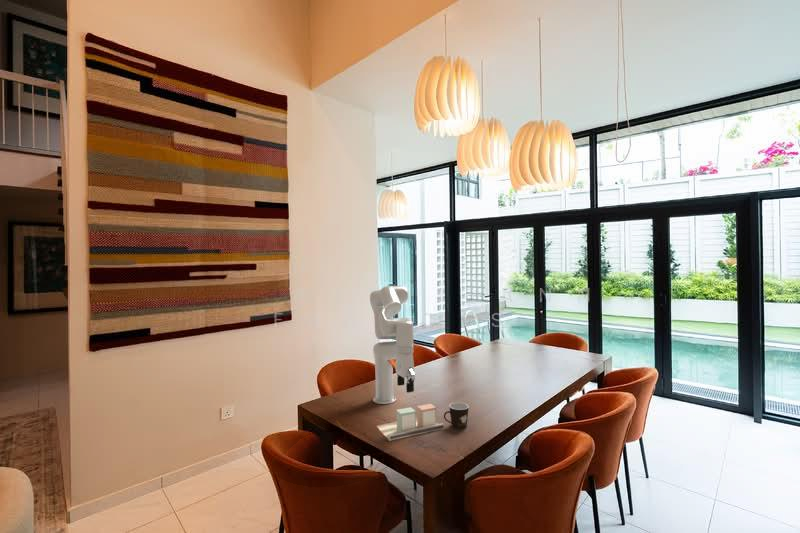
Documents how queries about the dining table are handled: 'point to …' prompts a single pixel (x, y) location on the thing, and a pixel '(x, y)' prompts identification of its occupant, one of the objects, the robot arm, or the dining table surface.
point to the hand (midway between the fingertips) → (405, 388)
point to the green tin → (406, 419)
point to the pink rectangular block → (426, 415)
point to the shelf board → (393, 434)
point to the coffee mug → (458, 415)
